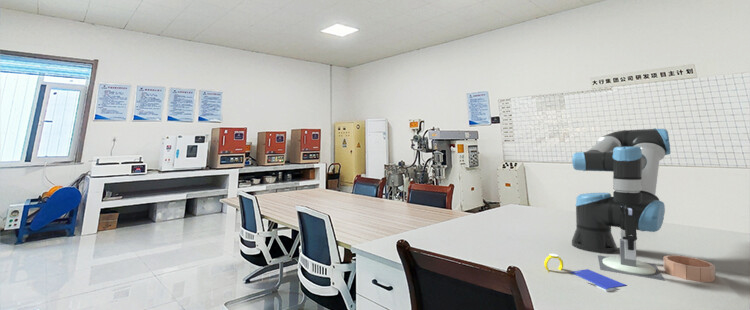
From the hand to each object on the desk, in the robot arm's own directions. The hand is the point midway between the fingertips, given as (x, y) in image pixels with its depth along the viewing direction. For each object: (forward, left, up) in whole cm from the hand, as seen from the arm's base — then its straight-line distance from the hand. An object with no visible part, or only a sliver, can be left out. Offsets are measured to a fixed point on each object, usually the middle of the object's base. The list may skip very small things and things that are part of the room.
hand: (627, 253), depth 102 cm
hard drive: (-9, -17, -6) cm, 20 cm away
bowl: (+15, +2, -5) cm, 16 cm away
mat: (0, 0, -5) cm, 5 cm away
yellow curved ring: (-21, -16, -6) cm, 27 cm away
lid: (0, 0, -5) cm, 5 cm away
